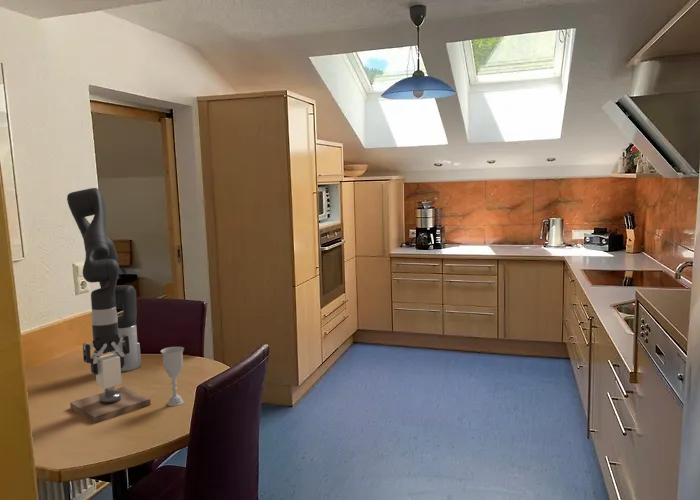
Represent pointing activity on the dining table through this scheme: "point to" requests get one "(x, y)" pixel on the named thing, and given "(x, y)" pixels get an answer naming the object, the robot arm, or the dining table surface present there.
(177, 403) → the chalice
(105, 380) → the cream rectangular block
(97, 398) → the walnut block
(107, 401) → the dark grey cylinder
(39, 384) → the dining table surface
